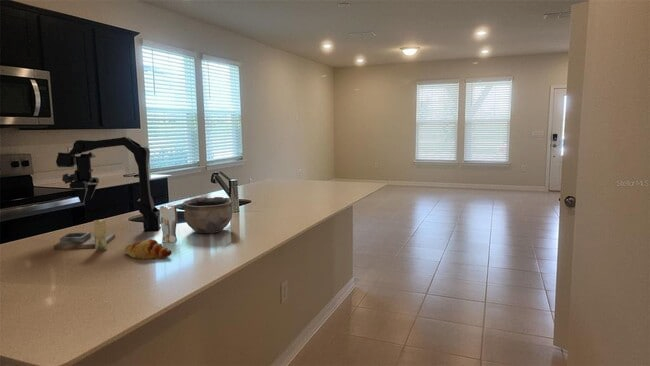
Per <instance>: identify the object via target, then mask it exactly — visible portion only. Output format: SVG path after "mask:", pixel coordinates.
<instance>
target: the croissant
mask: <svg viewBox="0 0 650 366" xmlns="http://www.w3.org/2000/svg"><path fill="white" fill-rule="evenodd" d="M124 252H125V253H126V254H127V255H128V256H130V257H132V258H133V259H137V258H139V259H140V258H141V260H151V259H152V260H153V258H154V259H155V258H158V259H165V258H167V257H168V256H171V255H172V249H168V248H167V247H165V246H163V245H162V243H158V241H157V240H156V239H146V240H143V241H139V242H138V241H137V242H134V243H133V244H129V245H127V246H126V247H125V248H124Z"/></svg>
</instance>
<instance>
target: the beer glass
mask: <svg viewBox="0 0 650 366" xmlns="http://www.w3.org/2000/svg"><path fill="white" fill-rule="evenodd" d="M159 211H160V213H159V218H160V227H161V231H162V232H161V233H162V238H161V242H162V243H163V242H165V244H170V243H169V242H172V243H175V242H174V241H176V242H178V237H177V231H176V230H177V225H178V211H177V205H163V206H160V207H159Z"/></svg>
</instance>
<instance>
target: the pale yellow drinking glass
mask: <svg viewBox="0 0 650 366" xmlns="http://www.w3.org/2000/svg"><path fill="white" fill-rule="evenodd" d="M106 231H107V229H106V220H105V219H95V220H93V232H94V234H93V235H95V252H96V253H97V252H98V253H99V252H100V253H101V252H106V251H107V250H108V247H107V245H108V243H107V242H106V234H107V232H106Z"/></svg>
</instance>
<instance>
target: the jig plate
mask: <svg viewBox="0 0 650 366" xmlns="http://www.w3.org/2000/svg"><path fill="white" fill-rule="evenodd" d="M115 238H116V234H115V233H106V242H107V244H108V243H110V242H111V241H112V240H114V239H115ZM93 248H95V235H94V234H92V233H91V231H89V232H88V231H87V232H68V233H67V234H65V235H63V236H61V237H60V238H59V241H58V242H57V243H55V244H53V250H70V249H71V250H72V249H93Z"/></svg>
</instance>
